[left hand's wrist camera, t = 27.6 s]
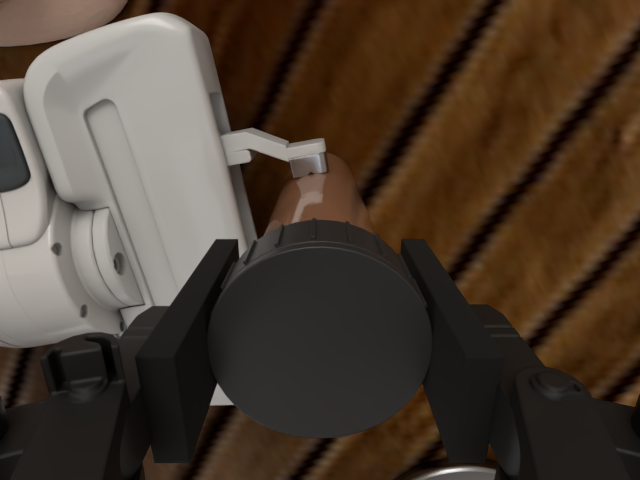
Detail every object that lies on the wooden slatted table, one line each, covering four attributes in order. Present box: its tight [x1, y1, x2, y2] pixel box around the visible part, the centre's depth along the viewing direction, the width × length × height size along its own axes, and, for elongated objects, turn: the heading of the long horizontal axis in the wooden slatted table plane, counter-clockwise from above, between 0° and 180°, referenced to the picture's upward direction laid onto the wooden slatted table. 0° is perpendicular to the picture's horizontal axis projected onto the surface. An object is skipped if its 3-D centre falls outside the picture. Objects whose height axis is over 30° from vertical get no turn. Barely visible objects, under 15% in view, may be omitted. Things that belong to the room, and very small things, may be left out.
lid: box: [207, 218, 433, 438], centre depth 11 cm, size 6×6×2 cm
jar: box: [264, 153, 376, 235], centre depth 19 cm, size 5×5×17 cm
